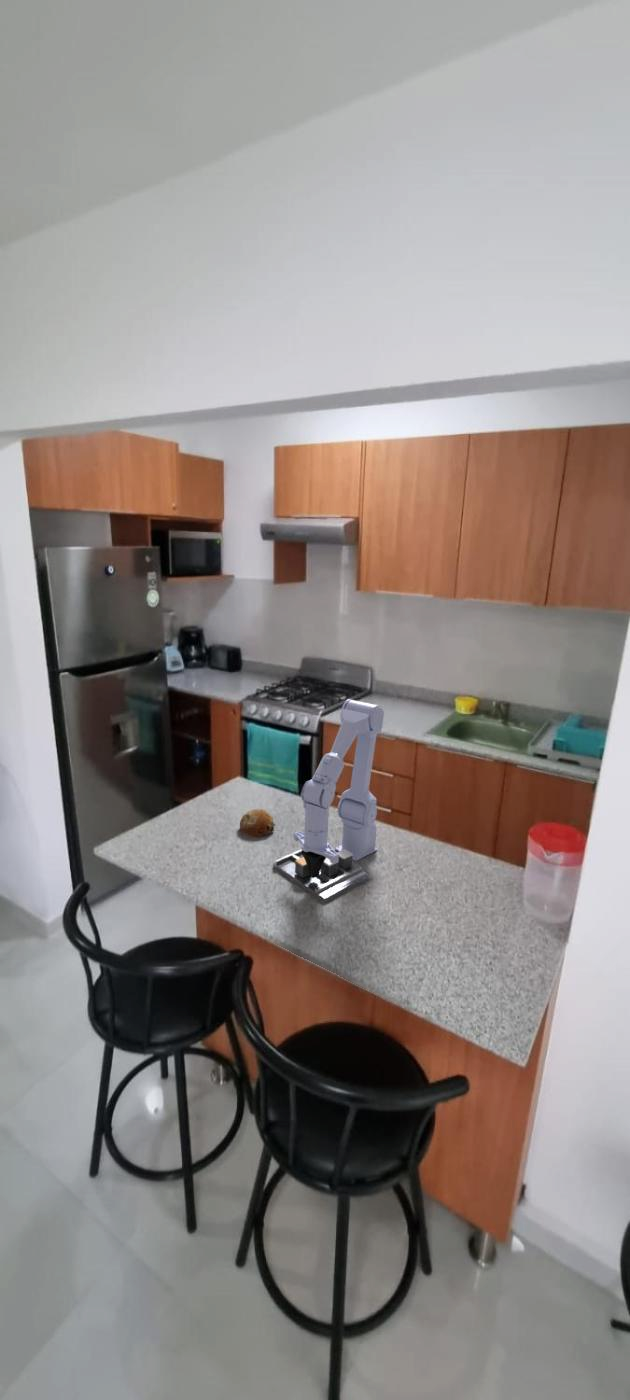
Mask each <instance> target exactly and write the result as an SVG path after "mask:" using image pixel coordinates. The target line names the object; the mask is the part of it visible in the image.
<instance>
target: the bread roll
mask: <svg viewBox="0 0 630 1400" xmlns="http://www.w3.org/2000/svg"><path fill="white" fill-rule="evenodd" d="M275 826H276V823H275V822H274V819H273V816H272V815H271V814H270V813H269V812H267V811H266V810H265V809H262V808H255V809H251V810H250V811H247V812H246V813H245V814H244V815H243V816H242V817H241V819H240V821H239V828H240V831H241V832H242V833H243V834H244V835H245V836H249V837H253V838H261V837H263V838H264V837H266V836H268V835H270V834H271V833H273V832H274V831H275V829H274V828H275Z"/></svg>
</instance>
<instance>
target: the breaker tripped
mask: <svg viewBox="0 0 630 1400" xmlns="http://www.w3.org/2000/svg"><path fill="white" fill-rule="evenodd" d="M295 873H296V874H298V875H299V876H301V877H302V878H304V877H306V876H308V875H309V871H308V867H307V864H306V861H305V859H304V857H302V858H300V859H298V860H296V861H295Z"/></svg>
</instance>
